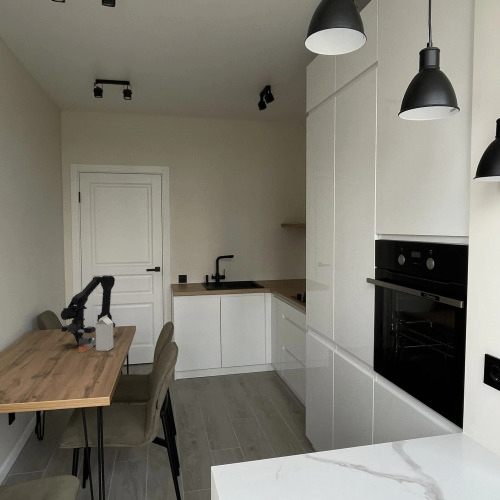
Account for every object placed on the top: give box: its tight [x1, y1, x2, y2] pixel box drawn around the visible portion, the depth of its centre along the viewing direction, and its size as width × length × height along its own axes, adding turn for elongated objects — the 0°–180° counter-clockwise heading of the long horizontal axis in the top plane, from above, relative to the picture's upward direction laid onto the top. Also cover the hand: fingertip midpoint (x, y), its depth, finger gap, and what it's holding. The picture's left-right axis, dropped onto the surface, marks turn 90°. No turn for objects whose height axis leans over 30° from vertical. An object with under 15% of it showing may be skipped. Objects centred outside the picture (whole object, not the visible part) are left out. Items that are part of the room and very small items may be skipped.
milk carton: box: [95, 315, 114, 352], centre depth 231 cm, size 7×7×19 cm
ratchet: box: [78, 336, 96, 354], centre depth 233 cm, size 16×8×5 cm, turn 173°
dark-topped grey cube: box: [78, 335, 92, 347], centre depth 238 cm, size 5×6×5 cm
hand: (78, 343), depth 239 cm, fingers closed
